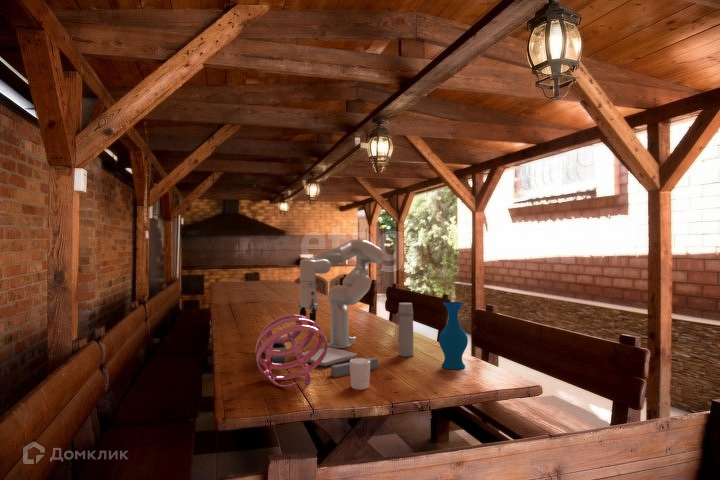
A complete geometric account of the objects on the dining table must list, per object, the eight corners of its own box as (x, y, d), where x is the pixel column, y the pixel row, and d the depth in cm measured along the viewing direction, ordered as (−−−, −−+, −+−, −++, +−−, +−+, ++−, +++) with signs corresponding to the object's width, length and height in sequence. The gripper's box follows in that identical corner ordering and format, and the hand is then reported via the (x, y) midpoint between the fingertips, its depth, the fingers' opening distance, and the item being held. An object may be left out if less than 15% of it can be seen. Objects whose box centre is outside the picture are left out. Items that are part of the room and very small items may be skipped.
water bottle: (415, 354, 229) (415, 302, 228) (411, 358, 221) (411, 305, 221) (396, 352, 232) (396, 301, 231) (392, 356, 224) (392, 304, 224)
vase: (433, 365, 209) (433, 302, 209) (457, 362, 214) (457, 300, 214) (449, 372, 198) (448, 305, 198) (473, 369, 203) (473, 304, 203)
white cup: (349, 384, 182) (349, 358, 182) (369, 383, 183) (369, 357, 183) (350, 390, 175) (350, 363, 175) (371, 390, 175) (371, 363, 175)
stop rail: (373, 366, 207) (373, 357, 207) (377, 368, 204) (377, 359, 204) (331, 375, 194) (330, 365, 194) (334, 377, 191) (334, 367, 191)
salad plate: (293, 361, 218) (293, 353, 218) (327, 353, 233) (327, 346, 233) (323, 370, 203) (323, 362, 203) (357, 360, 218) (357, 353, 218)
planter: (287, 363, 213) (287, 347, 213) (271, 364, 211) (271, 348, 211) (281, 349, 240) (281, 335, 239) (266, 350, 238) (266, 336, 238)
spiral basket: (335, 341, 168) (313, 292, 189) (258, 366, 161) (243, 312, 181) (339, 388, 186) (318, 338, 206) (270, 412, 178) (255, 358, 198)
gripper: (323, 285, 226) (323, 321, 226) (305, 282, 240) (305, 316, 240) (309, 286, 221) (309, 323, 221) (292, 283, 235) (292, 318, 236)
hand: (307, 319), depth 231 cm, fingers open, 9 cm apart
